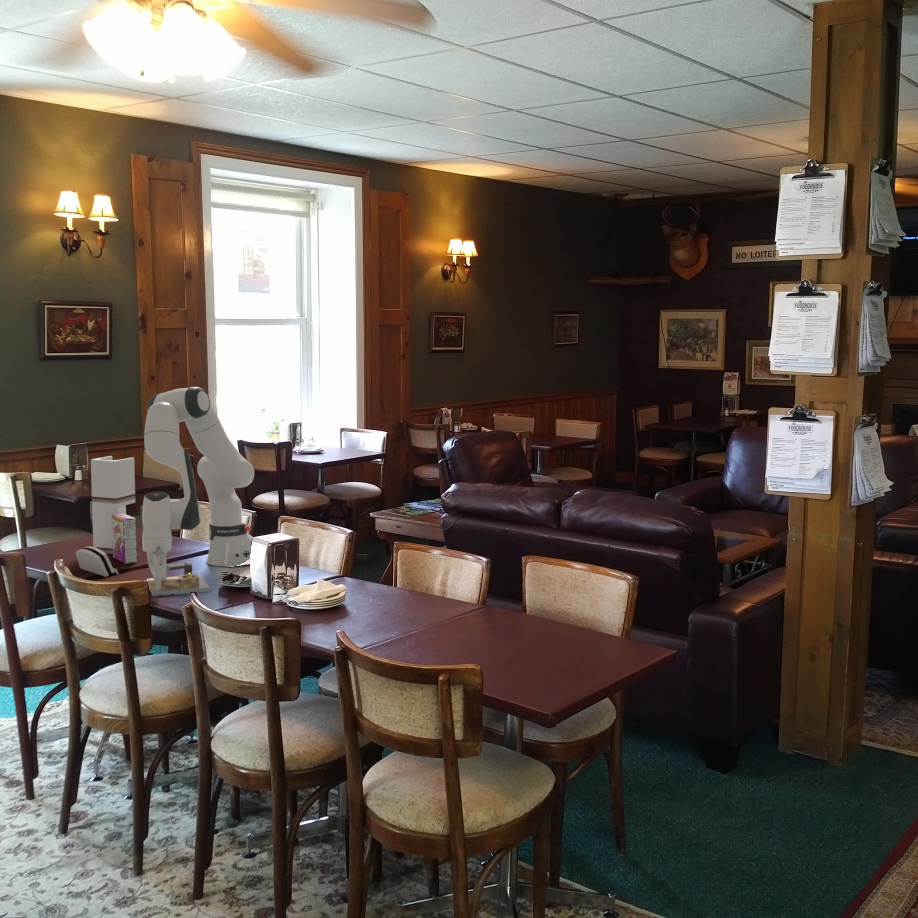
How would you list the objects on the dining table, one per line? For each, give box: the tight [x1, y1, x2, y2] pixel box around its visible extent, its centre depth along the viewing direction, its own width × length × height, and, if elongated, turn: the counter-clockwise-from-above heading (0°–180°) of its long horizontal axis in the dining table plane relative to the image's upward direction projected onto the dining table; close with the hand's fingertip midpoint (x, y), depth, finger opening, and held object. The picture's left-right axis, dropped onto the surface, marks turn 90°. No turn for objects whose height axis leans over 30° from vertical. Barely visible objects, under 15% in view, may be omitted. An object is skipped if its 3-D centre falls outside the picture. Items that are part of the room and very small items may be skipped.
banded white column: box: [90, 455, 136, 555], centre depth 373 cm, size 11×11×35 cm
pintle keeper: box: [167, 562, 193, 578], centre depth 326 cm, size 8×13×6 cm, turn 23°
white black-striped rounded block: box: [75, 545, 119, 577], centre depth 342 cm, size 17×5×10 cm, turn 50°
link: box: [146, 573, 199, 592], centre depth 320 cm, size 16×6×3 cm, turn 113°
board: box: [145, 574, 211, 597], centre depth 326 cm, size 18×18×1 cm
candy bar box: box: [112, 513, 138, 565], centre depth 358 cm, size 11×5×16 cm, turn 41°
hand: (157, 587), depth 312 cm, fingers closed
